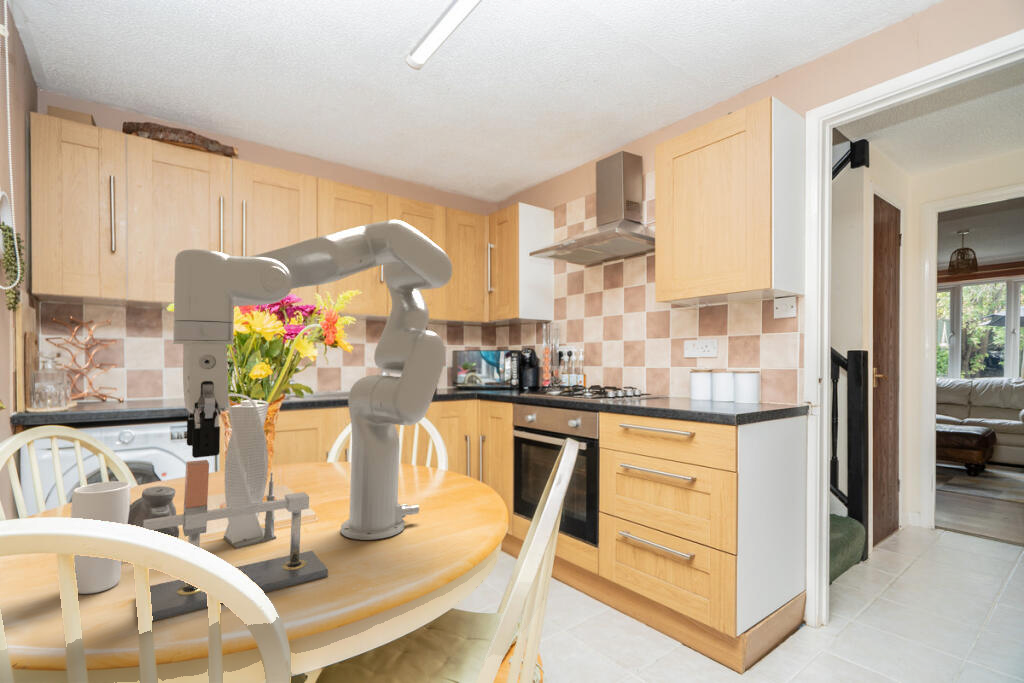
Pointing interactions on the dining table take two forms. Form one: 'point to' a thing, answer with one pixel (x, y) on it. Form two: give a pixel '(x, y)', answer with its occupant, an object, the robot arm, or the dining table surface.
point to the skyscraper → (247, 473)
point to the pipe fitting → (154, 508)
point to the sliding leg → (196, 500)
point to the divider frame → (290, 502)
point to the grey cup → (106, 506)
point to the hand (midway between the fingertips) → (202, 450)
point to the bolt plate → (265, 573)
